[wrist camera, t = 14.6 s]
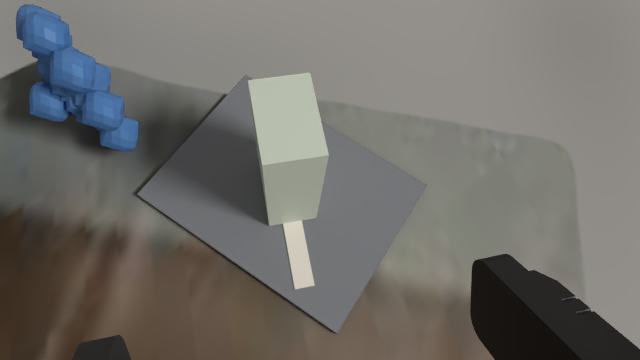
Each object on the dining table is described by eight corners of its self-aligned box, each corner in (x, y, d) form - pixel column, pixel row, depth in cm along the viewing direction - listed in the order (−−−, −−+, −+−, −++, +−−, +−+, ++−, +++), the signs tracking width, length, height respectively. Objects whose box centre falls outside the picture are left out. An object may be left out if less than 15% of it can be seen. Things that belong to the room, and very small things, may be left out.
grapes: (33, 104, 41) (-62, 6, 30) (100, 67, 43) (34, -38, 32) (100, 196, 38) (22, 125, 27) (168, 151, 40) (122, 68, 29)
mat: (139, 196, 38) (136, 193, 37) (246, 78, 43) (245, 74, 43) (336, 333, 35) (337, 333, 34) (424, 187, 40) (427, 184, 39)
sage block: (269, 226, 37) (261, 165, 26) (258, 161, 39) (247, 80, 28) (316, 218, 37) (329, 155, 26) (303, 154, 40) (309, 72, 29)
